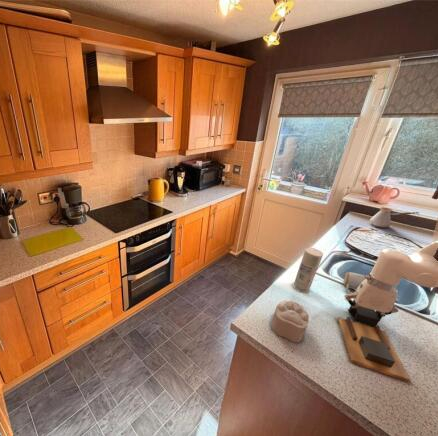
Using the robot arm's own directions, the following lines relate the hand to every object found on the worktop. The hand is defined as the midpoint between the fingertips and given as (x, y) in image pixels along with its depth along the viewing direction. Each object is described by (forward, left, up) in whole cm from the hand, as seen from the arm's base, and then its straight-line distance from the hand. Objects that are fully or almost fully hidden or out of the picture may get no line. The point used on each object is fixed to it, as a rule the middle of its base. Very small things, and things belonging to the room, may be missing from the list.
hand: (362, 317), depth 91 cm
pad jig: (+2, +15, -1) cm, 15 cm away
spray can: (+20, -10, -1) cm, 22 cm away
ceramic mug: (-2, -19, -1) cm, 19 cm away
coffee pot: (-43, -110, -1) cm, 118 cm away
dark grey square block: (0, 0, -1) cm, 1 cm away
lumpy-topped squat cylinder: (+27, +17, -1) cm, 32 cm away
